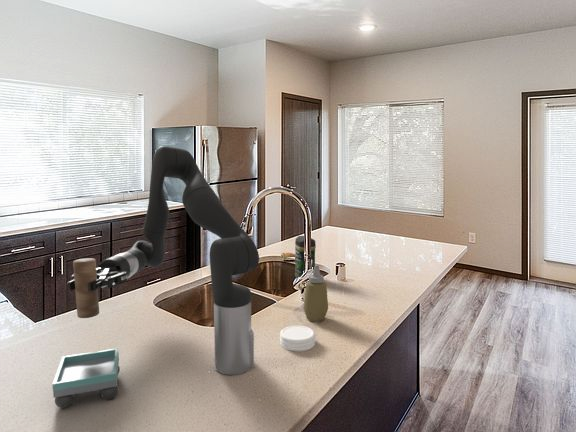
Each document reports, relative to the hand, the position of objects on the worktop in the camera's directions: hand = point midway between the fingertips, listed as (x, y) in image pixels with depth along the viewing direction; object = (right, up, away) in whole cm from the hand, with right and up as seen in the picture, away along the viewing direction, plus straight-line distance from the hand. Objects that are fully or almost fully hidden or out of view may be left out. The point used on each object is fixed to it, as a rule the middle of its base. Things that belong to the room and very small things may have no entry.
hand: (79, 287), depth 98 cm
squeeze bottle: (+60, -16, +34) cm, 71 cm away
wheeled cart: (+6, -22, -7) cm, 24 cm away
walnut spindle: (0, -7, +4) cm, 8 cm away
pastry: (+51, -5, +106) cm, 118 cm away
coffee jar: (+58, -10, +75) cm, 96 cm away
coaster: (+54, -19, +17) cm, 60 cm away
